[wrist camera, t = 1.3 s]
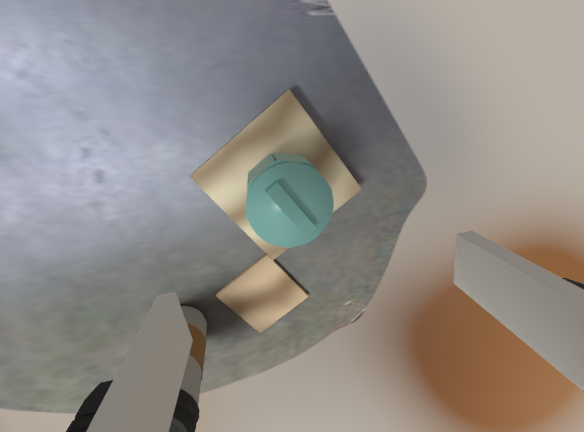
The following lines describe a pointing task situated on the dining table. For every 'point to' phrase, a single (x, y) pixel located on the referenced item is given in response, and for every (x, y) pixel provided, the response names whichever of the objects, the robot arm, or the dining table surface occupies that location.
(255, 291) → the coaster
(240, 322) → the dining table surface
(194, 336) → the coffee cup
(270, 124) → the post base
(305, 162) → the cap
